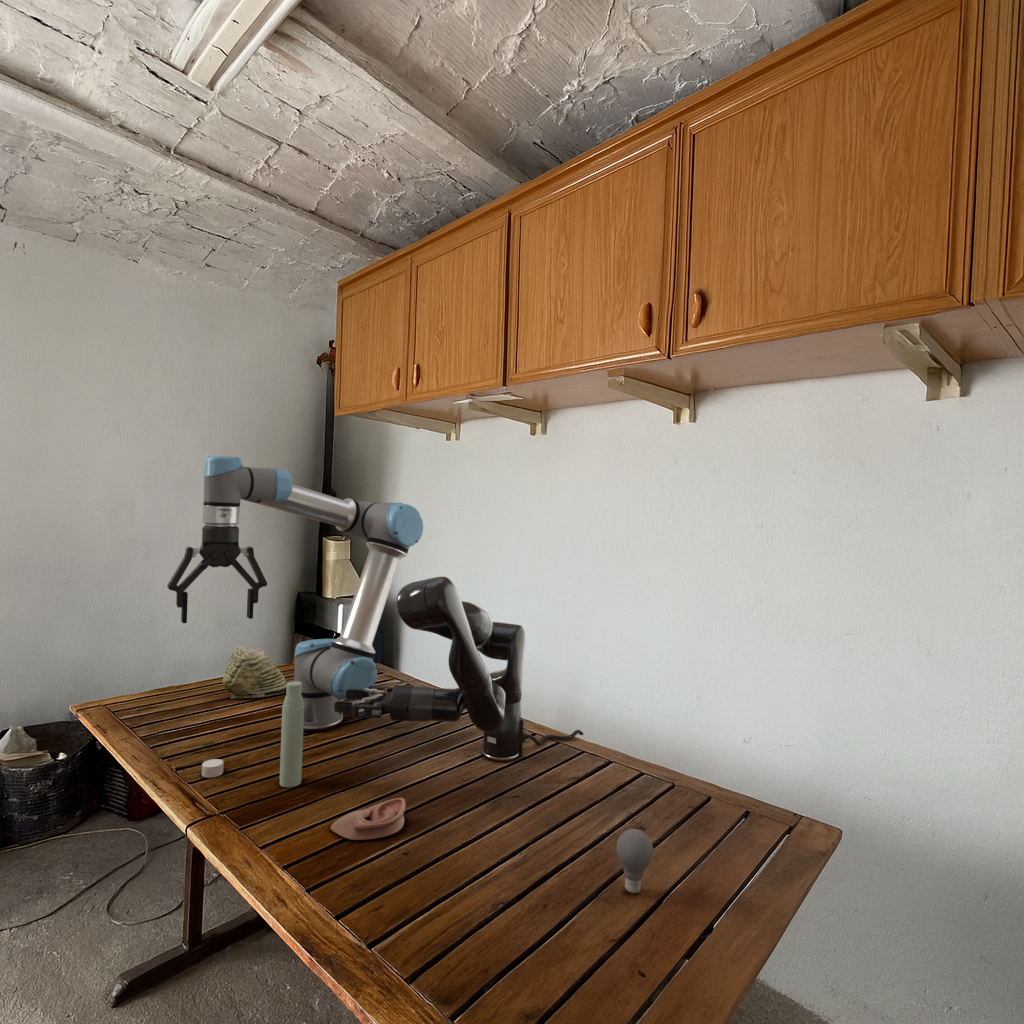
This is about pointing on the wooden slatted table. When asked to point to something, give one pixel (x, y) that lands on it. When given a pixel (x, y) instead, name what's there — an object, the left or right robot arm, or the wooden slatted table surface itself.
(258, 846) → the wooden slatted table surface
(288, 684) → the bottle
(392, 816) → the anatomical model
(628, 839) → the light bulb
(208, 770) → the cap
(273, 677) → the fossil
